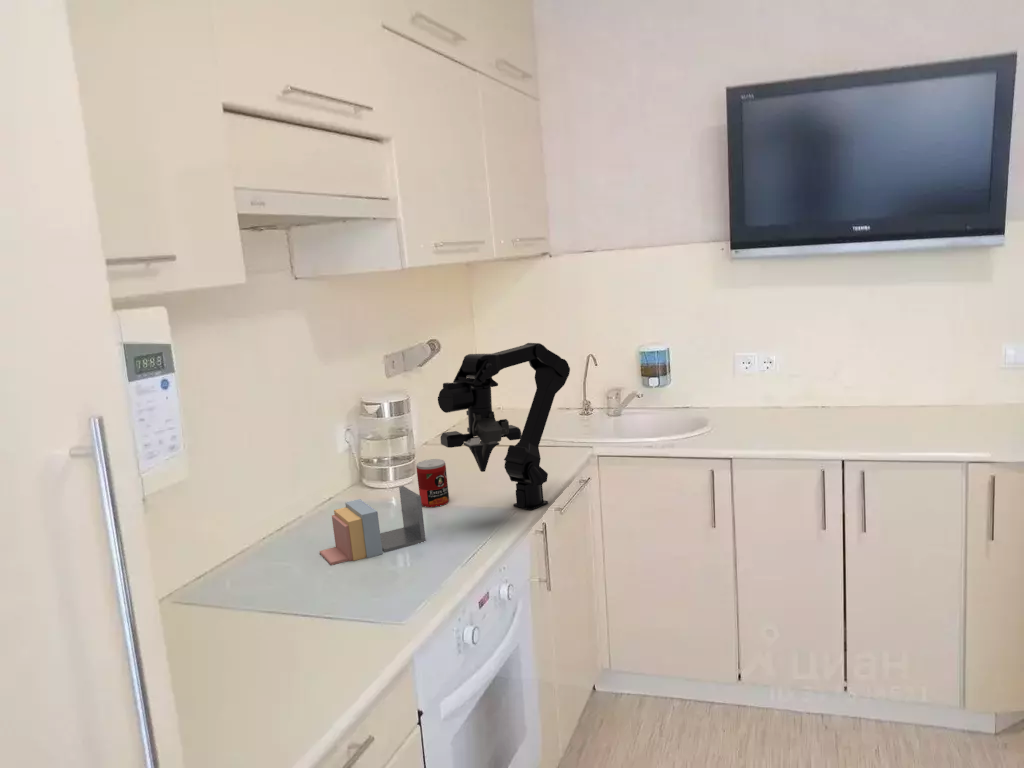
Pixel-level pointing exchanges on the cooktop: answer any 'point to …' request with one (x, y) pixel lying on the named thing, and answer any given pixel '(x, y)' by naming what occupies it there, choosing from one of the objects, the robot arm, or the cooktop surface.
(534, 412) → the robot arm
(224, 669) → the cooktop surface
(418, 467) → the canned food
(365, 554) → the book row
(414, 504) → the bookend
